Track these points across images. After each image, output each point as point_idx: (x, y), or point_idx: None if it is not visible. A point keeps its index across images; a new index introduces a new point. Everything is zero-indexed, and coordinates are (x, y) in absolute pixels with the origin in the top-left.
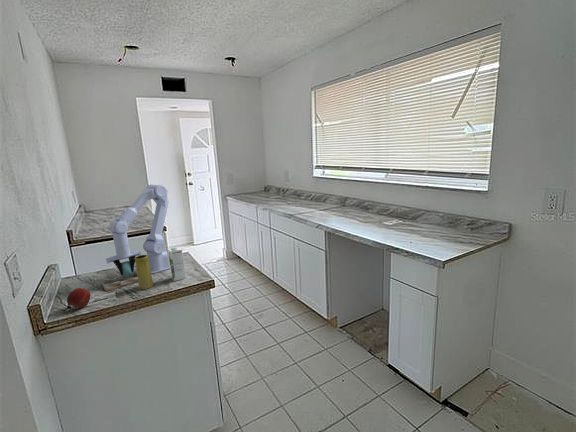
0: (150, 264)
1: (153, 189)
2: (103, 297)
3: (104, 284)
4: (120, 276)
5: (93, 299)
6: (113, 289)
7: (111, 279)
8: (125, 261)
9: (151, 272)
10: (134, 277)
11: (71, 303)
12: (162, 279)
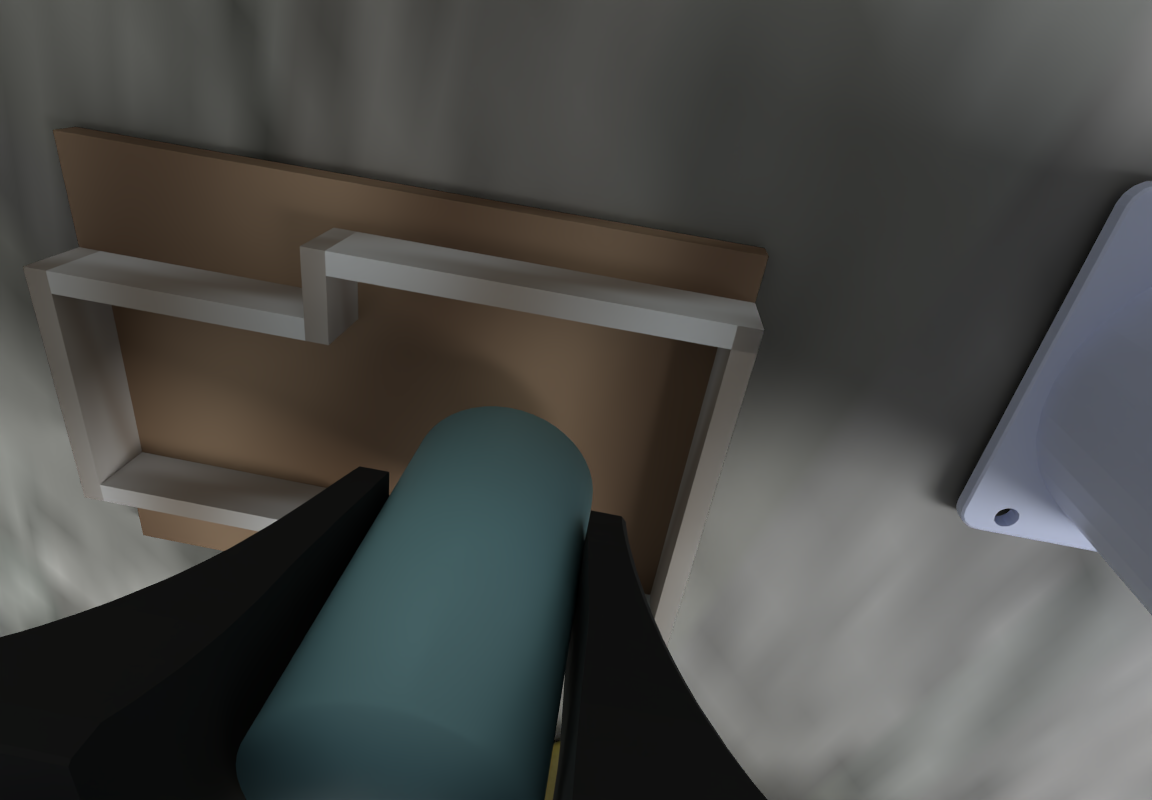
0: (1142, 558)
1: None
2: None
3: (90, 453)
4: (404, 286)
5: (29, 594)
6: None
7: (209, 319)
8: (425, 731)
9: (976, 502)
10: (636, 445)
11: None
12: (855, 791)
